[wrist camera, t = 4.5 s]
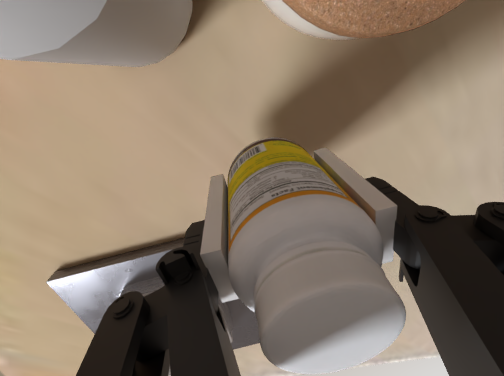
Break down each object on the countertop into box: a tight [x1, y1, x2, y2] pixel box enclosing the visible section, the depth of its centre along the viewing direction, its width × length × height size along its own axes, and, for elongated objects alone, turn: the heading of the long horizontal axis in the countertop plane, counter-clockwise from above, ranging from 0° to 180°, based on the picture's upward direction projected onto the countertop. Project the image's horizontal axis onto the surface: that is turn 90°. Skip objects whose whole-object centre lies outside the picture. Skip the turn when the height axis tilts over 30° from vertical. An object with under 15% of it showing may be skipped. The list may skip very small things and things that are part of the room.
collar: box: [47, 238, 260, 376], centre depth 23 cm, size 16×16×4 cm
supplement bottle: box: [228, 138, 406, 374], centre depth 11 cm, size 6×6×10 cm
